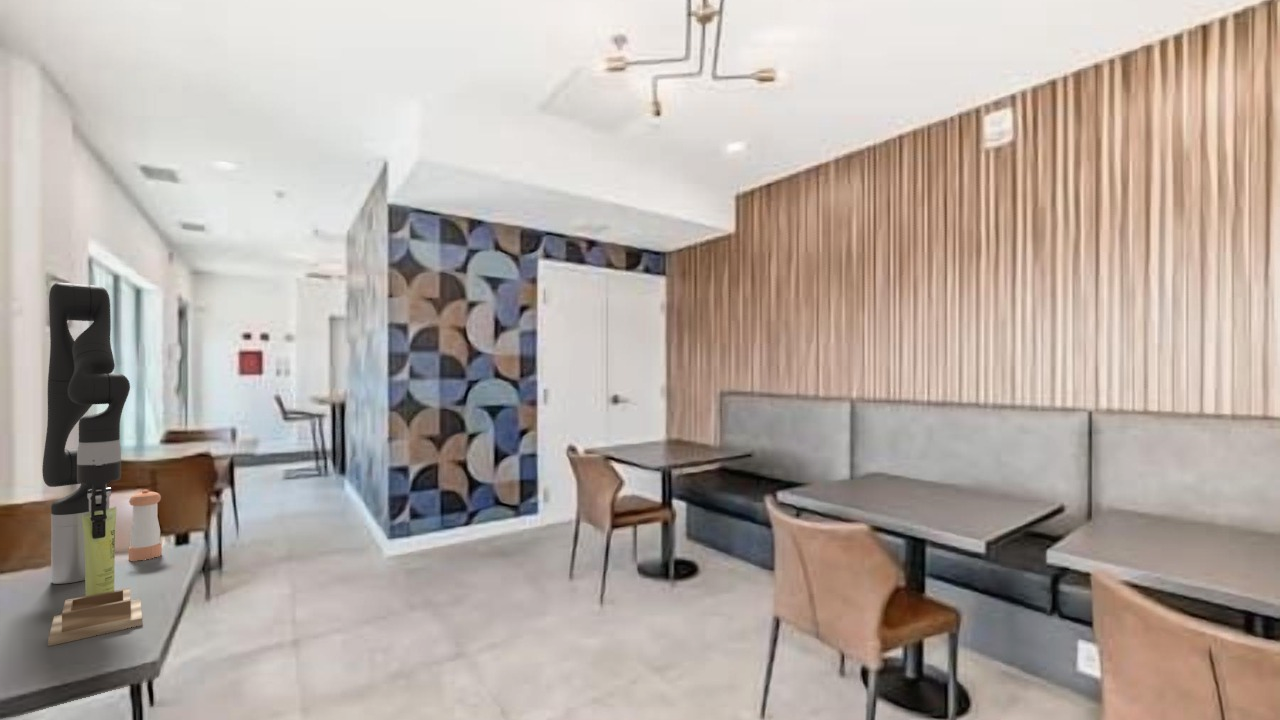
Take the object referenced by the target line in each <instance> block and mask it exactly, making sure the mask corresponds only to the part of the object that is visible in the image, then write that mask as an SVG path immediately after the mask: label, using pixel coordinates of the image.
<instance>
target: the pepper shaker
mask: <svg viewBox="0 0 1280 720" xmlns="http://www.w3.org/2000/svg"><path fill="white" fill-rule="evenodd" d="M161 499H162V495H161V493H159V492H155V491H150V490H149V489H143V490H142V491H141V492H138V493H135V494H133V495H131V496H130V498H129V500H128V503H129V505H130V506H132V524H131V528H130V534H129V539H130V540H129V541H130V546H128V561H129V560H130V562H138V561H137V560H143V561H146V560H145V559H149V560H151V559H150V558H153V559H155V558H154V557H157V556H159V557H161V556H162V554H163V552H162V549H163V548H162V547H163V546H162V541H161V528H160V522H159V518H158V514H159V513H158V503H160V501H161ZM160 555H161V556H160ZM157 558H158V557H157Z"/></svg>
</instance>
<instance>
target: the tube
mask: <svg viewBox="0 0 1280 720" xmlns="http://www.w3.org/2000/svg"><path fill="white" fill-rule="evenodd" d="M100 514H103V511H97V512H95V515H100ZM106 515H107V519H106V534H105V537H103V538H97V539H93V538H92V521H91V520H90V518H91V513H89V514H85V515H83V516H82V520H83V532H84V551H85V580H84V582H85V583H84V584H85V586H84V587H85V589H84V590H85V596H90V595H95V594H100V593H105V592H111V591H115V568H116V567H115V565H116V564H115V562H116V561H115V559H116V558H115V557H116V556H115V555H116V525H117V524H116V523H117V522H116V521H117V506H113V507H109V509H108V510H107V511H106Z"/></svg>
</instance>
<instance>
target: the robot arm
mask: <svg viewBox="0 0 1280 720" xmlns="http://www.w3.org/2000/svg"><path fill="white" fill-rule="evenodd" d="M48 313H49V314H48V315H49V340H50V342H49V343H50V345H49V347H50V349H49V360H48V361H49V364H48V376H47V423H46V424H47V426H46V435H45V442H44V450H43V458H42V459H43V460H42V471H41V472H42V478H43V482H44V484H45V485H46V486H47V487H49V488H56V487H65V486H66V487H67V486H72V485H80V486H79V488H77V489H76V490H75V491H74V492H72V493H70V494H68V495H65V496H64V497H61V498H58V499H56V500H55V501H53V502H51V503H52V504H51V507H50V509H51V510H50V519H51V520H50V525H51V526H50V529H51V530H50V531H51V533H50V534H51V538H50V541H51V545H50V550H51V551H50V558H51V559H50V561H51V562H50V563H51V564H50V567H51V568H50V573H51V574H50V582H51V584H55V585H56V584H58V585H59V584H70V583H77V582H81V581H85V551H84V532H83V520H82V516H83V515H85V514H89V513H91V518H90V520H91V521H92V538H93V539H97V538H103V537H105V534H106V519H107V515H106V511H107V510H108V509H109V508H110V498H111V495H112V493H111V492H112V491H111V490H112V488H111V487H108V485H107V484H108V483H112V482H117V481H119V480H121V478H122V447H121V441H120V439H121V438H120V436H121V433H120V428H121V425H120V424H121V417H122V412H123V410H124V406H125V405H126V402H127V399H128V396H129V393H130V391H131V390H130V389H131V384H130V380H129V379H128V377H127V376H125V375H124V374H123V373H122V374H121V373H116V372H115V373H113V372H114V369H115V366H116V365H115V359H114V355H113V351H112V345H111V344H112V343H111V329H112V328H111V325H112V324H111V319H112V317H111V299H110V295H109V293H108V290H107V289H106V288H105V287H103V286H101V285H100V286H99V285H93V284H92V285H91V284H78V283H70V282H67V283H66V282H56V283H54V284H53V285H51V288H50V291H49V295H48ZM68 321H78V322H92V323H91V324H90V325H89V327H87V328H86V329H85V330H84V331H82V333H80V334H79V335H78V336H77V337H76V339H75V340H74V338H73V336H72V335H71V332H70V329H69V326H68ZM93 405H108V406H107V408H106V409H105V410H104V411H102V412H99V413H98V412H97V413H94V414H89V415H85V414H86V413H87V412H88V411H89V409H90V408H91V407H92V406H93ZM77 424H78V445H77V447H76V448H75V447H74V448H66V445H67V442H68V438H69V437H70V433H72V431H73V429H74V428H75V426H76V425H77ZM97 511H103V514H100V515H95V512H97Z"/></svg>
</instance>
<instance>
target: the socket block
mask: <svg viewBox="0 0 1280 720" xmlns="http://www.w3.org/2000/svg"><path fill="white" fill-rule="evenodd" d="M136 626H137V627H140V626H143V612H142V603H141V598H138V599H134V600H133V599H132V600H131V587H128V588H123V589H121V588H120V589H117V590H114V591H111V592H105V593H100V594H95V595H90V596H86V595H84V596H80V597H73V598H69V599H65V600H64V604H63V609H62V612H61V614H59V615H54V616H53V620H52V623H51V627H50V630H49V634H48V638H47V640H48V642H47V644H48V645H47V647H52V646H55V645H60V644H64V643H68V642H74V641H78V640H83V639H87V638H91V637H96V635H97V636H99V635H101V636H102V635H104V634H105V633H106V634H110V633H115V632H119V631H123V630H128V629H131V627H132V628H135V627H136ZM127 628H128V629H127ZM106 634H105V635H106Z"/></svg>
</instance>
